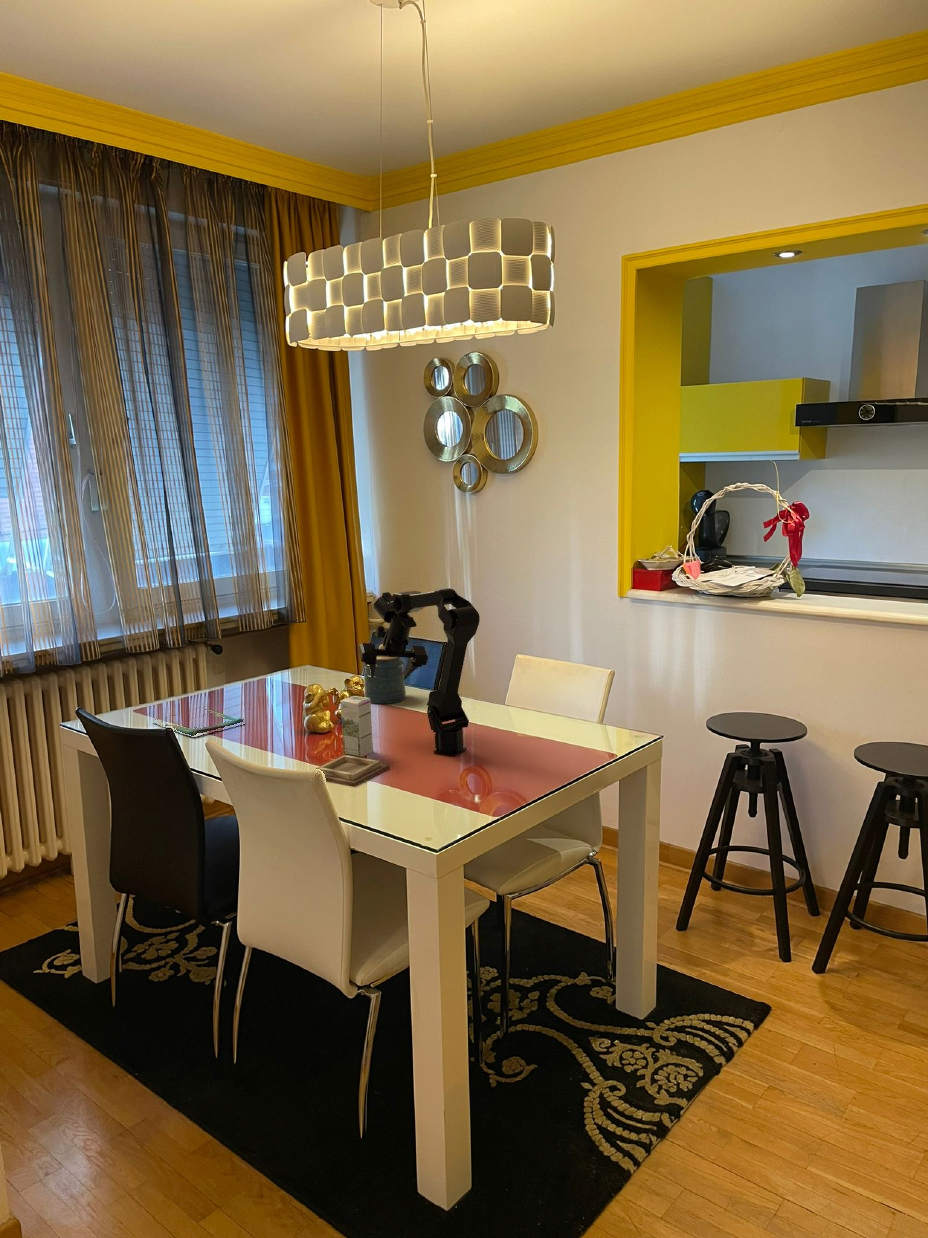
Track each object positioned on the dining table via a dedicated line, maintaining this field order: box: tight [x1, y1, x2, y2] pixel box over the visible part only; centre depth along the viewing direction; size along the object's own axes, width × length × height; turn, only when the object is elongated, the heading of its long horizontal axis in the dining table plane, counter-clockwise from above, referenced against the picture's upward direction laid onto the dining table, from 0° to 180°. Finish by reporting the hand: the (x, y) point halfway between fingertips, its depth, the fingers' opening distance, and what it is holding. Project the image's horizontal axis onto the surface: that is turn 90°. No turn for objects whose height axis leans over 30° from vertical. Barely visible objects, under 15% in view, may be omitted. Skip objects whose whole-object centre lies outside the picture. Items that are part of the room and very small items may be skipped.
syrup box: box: [339, 695, 374, 758], centre depth 235 cm, size 6×6×14 cm
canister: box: [362, 644, 407, 705], centre depth 287 cm, size 13×13×18 cm
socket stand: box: [315, 754, 390, 787], centre depth 221 cm, size 14×14×2 cm
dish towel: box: [154, 708, 245, 736], centre depth 267 cm, size 17×23×2 cm
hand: (387, 678), depth 256 cm, fingers open, 9 cm apart
